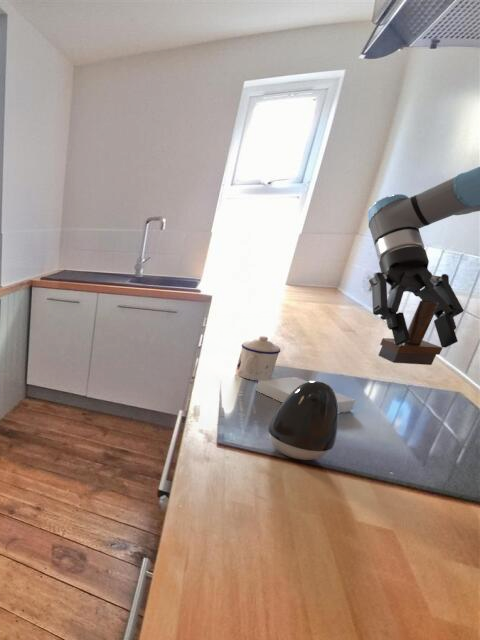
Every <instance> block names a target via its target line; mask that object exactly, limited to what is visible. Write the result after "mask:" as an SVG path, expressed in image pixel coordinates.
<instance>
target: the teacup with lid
mask: <svg viewBox="0 0 480 640" xmlns="http://www.w3.org/2000/svg"><path fill="white" fill-rule="evenodd" d="M268 339H269V338H268V337H267V336H265V335H260V336H259V337H258V338H255V339H252V340H247V341H246V340H245V341H244V342H242V344H241V350H240V354H239V357H238V361H237V365H236V369H235V374H236V375H237V376H238V377H239V378H243V379H245V378H246V380H249V379H250V381H254V380H257V381H256V382H259V381H262V380H269V379H270V380H271V379H272V377H273V373H274V369H275V366H276V363H277V360H278V357H279V354H280V353H281V347H280V346H279V345H277V344H275V343H273V342H272V341H270V340H268Z"/></svg>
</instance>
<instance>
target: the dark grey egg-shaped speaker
mask: <svg viewBox="0 0 480 640" xmlns="http://www.w3.org/2000/svg"><path fill="white" fill-rule="evenodd" d="M334 392H335V391H334V389H333V388H332V387H331V386H330V385H329V384H327V383H326V382H323V381H319V380H309V381H308V382H305V383H303V384H301V385H300V386H298V387H297V388H296V389H295V390H293V391H292V392H291V393H290V394H289V396H288V397H287V398H286V399H285V401H284V402H283V403H280V406H279V407H278V408H277V410H276V412H275V414H274V415H273V417H272V419H271V420H270V422H269V425H268V429H267V432H268V436H269V441H270V443H271V445H272V447H273V448H274V449H275V450H276V451H277V452H279V453H280V454H282V455H284V456H286V457H288V458H291V459H295V460H300V461H313V460H317V459H320V458H322V457H324V456H325V455H327V453H328V452H329V451H330V450H332V449H333V448H334V447H335V443H336V441H337V436H338V428H339V413H338V402H337V398H336V395H335V393H334Z"/></svg>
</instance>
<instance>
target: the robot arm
mask: <svg viewBox="0 0 480 640" xmlns="http://www.w3.org/2000/svg"><path fill="white" fill-rule="evenodd" d="M476 212H480V166H477V167H475V168H473V169H470V170H468V171H466V172H461V173H459V174H457V175H456V176H454V177H451V178H449V179H448V180H446V181H443V182H442V183H439V184H437V185H435V186H432V187H431V188H429V189H426V190H424V191H422V192H420V193H418V194H415V195H412V196H410V197H408V196H407V195H406V194H401V193H399V194H393V195H391V196H385V197H383V198H380V199H378V200H377V201H376V202H374V203H373V204H372V205H371V206H370V207H369V209H368V210H367V214H366V215H367V220H368V229H369V231H370V234H371V237H372V241H373V244H374V249H375V254H376V257H377V260H378V266H379V269H380V271H378V272H376V273H375V274H374V275H373V276H372V277H371V278H369V279H368V283H369V284H370V286H371V294H372V295H371V296H372V314H373V315H374V316H379V315H380V319H381V320H382V321H386V327H387V328H388V329H389V330H391V332H392V336H393V339H394V340H395V344H396V345H401V344H403V343H404V342H406V341H408V340H410V337H409V333H408V325H407V322H406V318H405V315H404V312H399V309H400V306H401V302H402V299H403V296H404V293H405V292H409V293H412V294H413V295H414V296H415V297H418V298H419V299H420V301H434V302H438V303H439V305H438V307H437V309H436V311H435V313H434V316H435V317H436V319H434V320H433V323H434V326H435V330H436V332H437V336H438V340H439V343H440V347H442V348H448V347H450V346H452V345H454V344H456V343H458V342H459V340H458V337H457V334H456V331H455V330H457V325H456V322H455V317H457V316H459V315H461V314H462V313H464V311H465V310H464V308H463V306H462V304H461V302H460V300H459V299H458V297H457V295H456V293H455V292H454V290H453V287H452V286H451V284H450V279H449V278H450V277H449V274H446V273H442V274H441V275H434V274H433V273H432V272H431V271H430V270H429V264H430V261H429V257H428V254H427V251H426V249H425V244H424V241H423V239H422V235H421V232H420V229H421V228H424V227H427V226H429V225H431V224H434V223H437V222H440V221H442V220H444V219H447V218H449V217H452V216H462V215H468V214H472V213H476ZM387 285H389V286H390V287H389V291H388V287H387Z"/></svg>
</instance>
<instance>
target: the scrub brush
mask: <svg viewBox="0 0 480 640" xmlns="http://www.w3.org/2000/svg"><path fill="white" fill-rule="evenodd" d="M438 305H439V303H438V302H434V301H422V300H420V301H419V303H418V305H417V307H416V308H415V311H414V314H413V316H412V319H411V321H410V323H409V325H408V327H407V329H408V333H409V337H410V340H408V341H406V342H404V343H403V344H401V345H396V344H395V340H394V338H389V337H383V338H382V339H381V341H380V343H379V345H380V346H381V347H380V350H379V352H378V357H380V358H383V359H385V360H387V361H389V362H391V363H393V364H407V365H423V366H424V365H425V366H432V365H433V362H434V360H435V358H436V356H437V355H438V356H439V355H441V353H442V350H443V347H441V346H439V345H437V344H434V343H431V342H429V341H425V340H424V338H425V336H426V333H427V331H428V329H429V327H430V324H431V323H432V320H433V318H434V316H435V315H434V313H435V311H436V309H437V307H438Z"/></svg>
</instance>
